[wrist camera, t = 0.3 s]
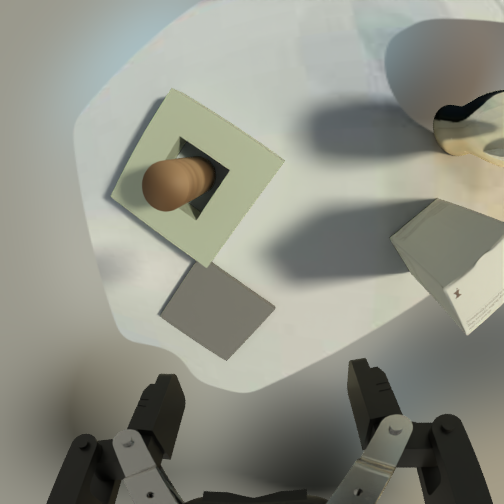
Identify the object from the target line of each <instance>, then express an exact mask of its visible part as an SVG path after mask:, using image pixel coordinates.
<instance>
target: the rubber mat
mask: <svg viewBox="0 0 504 504" xmlns="http://www.w3.org/2000/svg"><path fill="white" fill-rule="evenodd" d="M274 310H275V306H274V305H272V304H271V303H270V302H268V301H267V300H265V299H264V298H262V297H261V296H259V295H258V294H256V293H255V292H254V291H252V290H251V289H249V288H248V287H246V286H245V285H244V284H242V283H241V282H239V281H238V280H236V279H235V278H234V277H232V276H231V275H229V274H228V273H227V272H225V271H224V270H222V269H221V268H219V267H218V266H217V265H215V264H214V263H212V262H211V263H210V265H209V266H208V267H207V268H206V267H204V266H203V265H202V264H200V263H199V262H197V261H196V262H195V264H194V265H193V267H192V268H191V270H190V271H189V273H188V274H187V276H186V277H185V279H184V280H183V282H182V283H181V285H180V286H179V288H178V289H177V291H176V292H175V294H174V295H173V297H172V298H171V300H170V301H169V303H168V304H167V306H166V308H165V309H164V311H163V312H162V314H161V315H160V317H162V318H163V319H164V320H166V321H167V322H169V323H170V324H171V325H173V326H174V327H176V328H177V329H179V330H180V331H181V332H183V333H184V334H186V335H187V336H189V337H190V338H192V339H193V340H195V341H196V342H198V343H199V344H201V345H202V346H204V347H205V348H207V349H208V350H210V351H212V352H213V353H215V354H216V355H218V356H219V357H221V358H223V359H224V360H226V361H227V360H228V359H229V358H230V357H231V356H232V355H233V354H234V353H235V352H236V351H237V349H238V348H239V347H240V346H241V345H242V344H243V343H244V342H245V341H246V340H247V339H248V338H249V337H250V336H251V335H252V334H253V332H254V331H255V330H256V329H257V328H258V327H259V326H260V325H261V324H262V323H263V322H264V321H265V319H266V318H267V317H268V316H269V315H270V314H271V313H272V312H273V311H274Z"/></svg>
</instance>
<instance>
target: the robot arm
mask: <svg viewBox="0 0 504 504" xmlns="http://www.w3.org/2000/svg"><path fill="white" fill-rule="evenodd" d="M347 389H348V396H349V399H350V403H351V407H352V411H353V414H354V418H355V422H356V426H357V430H358V434H359V438H360V442H361V446H362V450H365V451H364V453H363V455H362V456H361V458H360V459H357V460H356V462H355V463H354V464H353V466H352V468H351V469H350V471H349V472H348V474H347V475H346V477H345V478H344V479H343V481H342V482H341V484H340V485H339V487H338V488H337V489H336V491H335V492H334V494H333V495H332V496H331V498H330V499H329V500H327V499H324V498H321V497H318V496H313V495H307V490H306V489H304V490H293V491H281V492H277V493H273V494H269V495H265V496H261V497H256V498H251V497H246V496H241V495H237V494H233V493H228V492H208V491H204V494H203V497H201V498H196V499H193V500H190V501H188V502H186V503H185V502H184V501H183V499H182V498H181V497H180V495H179V494H178V492H177V491H176V489H175V488H174V486H173V484H172V483H171V481H170V479H169V478H168V476H167V475H166V473H165V471H164V469H163V467H162V466H161V461H162V459H171V456H172V452H173V448H174V445H175V441H176V438H177V434H178V431H179V427H180V423H181V420H182V416H183V412H184V409H185V396H184V393H183V391H182V388H181V386H180V383H179V381H178V378H177V376H176V375H175V374H159V376H158V378H157V381H156V383H155V384H150V385H149V386H148V387H147V388H146V389H145V390H144V391H143V393H142V395H141V398H140V401H139V402H138V405H137V407H136V409H135V412H134V414H133V416H132V419H131V421H130V424H129V426H128V428H127V430H123V431H121V432H119V433H118V434H117V435H116V436H115V437H114V439H111V440H101V441H97V440H96V438H95V437H94V436H92V435H90V434H82V435H80V436H78V437H76V438H75V439H74V441H73V442H72V444H71V447H70V449H69V451H68V453H67V455H66V458H65V460H64V462H63V465H62V467H61V469H60V472H59V474H58V476H57V479H56V481H55V484H54V486H53V489H52V491H51V493H50V496H49V498H48V501H47V504H115V501H116V498H117V494H118V490H119V487H120V483H121V480H122V479H124V482H125V484H126V487H127V489H128V491H129V493H130V495H131V498H132V500H133V502H134V504H376V503H377V501H378V500H379V498H380V496H381V494H382V493H383V491H384V489H385V487H386V485H387V484H388V482H389V480H390V478H391V476H392V474H393V473H394V471H395V469H396V467H416V468H417V472H418V475H419V479H420V483H421V487H422V492H423V496H424V501H425V504H493V502H492V499H491V496H490V493H489V490H488V487H487V484H486V481H485V478H484V476H483V473H482V470H481V468H480V465H479V462H478V460H477V458H476V455H475V452H474V450H473V447H472V445H471V442H470V440H469V438H468V435H467V433H466V431H465V429H464V426H463V424H462V422H461V420H460V419H459V418H458V417H456V416H455V415H451V414H444V415H440V416H439V417H437V418H436V419H435V420H434V422H433V423H416V422H412V421H411V420H410V419H409V418H407V417H405V416H403V414H402V412H401V410H400V407H399V405H398V403H397V400H396V398H395V396H394V393H393V391H392V390H391V386H390V384H389V382H388V379H387V377H386V374H385V373H384V372H383V371H382V370H381V369H380V368H378V367H373V368H370V367H369V364H368V362H367V360H366V358H362V359H356V360H350V361H349V368H348V382H347Z"/></svg>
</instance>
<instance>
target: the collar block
mask: <svg viewBox="0 0 504 504" xmlns="http://www.w3.org/2000/svg"><path fill="white" fill-rule="evenodd" d="M186 141H188V142H189V143H191V144H192V145H194V146H195V147H197V148H198V149H200V150H201V151H203V152H204V153H206V154H207V155H209V156H210V157H211V158H213V159H214V160H216V161H217V162H219V163H220V164H222V165H223V166H224V167H226V168H227V169H229V170H230V171H229V173H228V174H227V176H226V177H225V179H224V180H223V182H222V183H221V184H220V186H219V187H218V189H217V190H216V192H215V193H214V195H213V196H212V198H211V199H210V201H209V202H208V204H207V205H206V207H205V208H204V210H203V211H202V213H201V212H200V211H199V210H197V209H196V208H194V207H193V206H192V205H190V204H189V203H186V204H184V205H182V206H181V207H179V208H177V209H175V210H173V211H168V212H164V211H159V210H157V209H155V208H153V207H152V206H151V205H150V204H149V203H148V202H147V201H146V199H145V197H144V195H143V191H142V180H143V176H144V174H145V172H146V170H147V169H148V168H149V167H150V166H151V165H152V164H154V163H156V162H158V161H163V160H170V159H176V157H177V155H178V154H179V152H180V151H181V149H182V147H183V146H184V144H185V143H186ZM284 162H285V160H283V159H282V158H281V157H279V156H278V155H276V154H275V153H274V152H272V151H271V150H269V149H268V148H267V147H265V146H264V145H262V144H261V143H259V142H258V141H257V140H255V139H254V138H252V137H251V136H249V135H248V134H246V133H245V132H243V131H242V130H240V129H239V128H237V127H236V126H234V125H233V124H231V123H230V122H228V121H227V120H225V119H224V118H222V117H221V116H219V115H218V114H216V113H214V112H213V111H211V110H210V109H208V108H206V107H205V106H203V105H202V104H200V103H198V102H197V101H195V100H194V99H192V98H190V97H189V96H187V95H185V94H184V93H182V92H180V91H177V90H175V89H173V88H171V90H170V91H169V93H168V94H167V96H166V98H165V99H164V101H163V102H162V104H161V105H160V107H159V109H158V110H157V112H156V113H155V115H154V117H153V118H152V120H151V122H150V123H149V125H148V127H147V128H146V130H145V132H144V133H143V135H142V137H141V139H140V140H139V142H138V144H137V146H136V148H135V149H134V151H133V153H132V155H131V157H130V159H129V161H128V162H127V164H126V166H125V168H124V170H123V172H122V174H121V176H120V178H119V180H118V182H117V184H116V186H115V188H114V190H113V192H112V194H111V196H110V197H112V198H113V199H114V200H116V201H117V202H118V203H119V204H121V205H122V206H123V207H125V208H126V209H127V210H129V211H130V212H131V213H132V214H134V215H135V216H136V217H138V218H139V219H140V220H142V221H143V222H144V223H146V224H147V225H148V226H150V227H151V228H152V229H154V230H155V231H156V232H158V233H159V234H160V235H162V236H163V237H165V238H166V239H167V240H169V241H170V242H171V243H173V244H174V245H175V246H177V247H178V248H179V249H181V250H182V251H184V252H185V253H186V254H188V255H189V256H190V257H192V258H193V259H195V260H196V261H197V262H199V263H200V264H202V265H203V266H204V267H206V268H207V267H208V266H209V265H210V263H211V262H212V260H213V259H214V257H215V256H216V255H217V253H218V252H219V250H220V249H221V248H222V246H223V245H224V244H225V242H226V241H227V239H228V238H229V237H230V235H231V234H232V232H233V231H234V230H235V228H236V227H237V225H238V224H239V223H240V221H241V220H242V219H243V217H244V216H245V214H246V213H247V212H248V210H249V209H250V208H251V206H252V205H253V204H254V202H255V201H256V199H257V198H258V197H259V195H260V194H261V193H262V191H263V190H264V189H265V187H266V186H267V185H268V183H269V182H270V181H271V179H272V178H273V177H274V175H275V174H276V173H277V171H278V170H279V168H280V167H281V166H282V164H283V163H284Z"/></svg>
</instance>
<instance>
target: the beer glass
mask: <svg viewBox="0 0 504 504" xmlns="http://www.w3.org/2000/svg"><path fill="white" fill-rule="evenodd" d="M433 130H434V135H435V138H436V140H437V142H438V144H439V145H440V147H441V148H442V149H443V150H444V151H445V152H447V153H449V154H451V155H454V156H462V155H466V154H472V155H475V156H477V157H479V158H481V159H483V160H485V161H487V162H489V163H492V164H494V165H497V166H500V167H504V90H498V91H493V92H489V93H486V94H484V95H482V96H479V97H477V98H476V99H474V100H472V101H471V102H469V103H467V104H465V105H463V106H457V105H446V106H443V107H442V108H440V109H439V110H438V112H437V113H436V115H435V117H434V121H433Z"/></svg>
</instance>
